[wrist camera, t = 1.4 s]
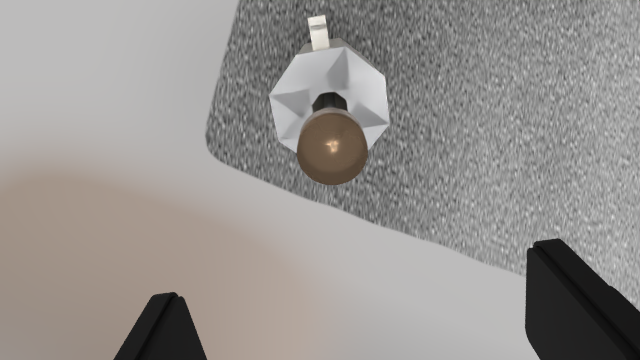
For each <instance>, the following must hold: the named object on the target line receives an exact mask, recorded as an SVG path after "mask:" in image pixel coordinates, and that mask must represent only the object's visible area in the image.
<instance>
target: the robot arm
mask: <svg viewBox="0 0 640 360" xmlns="http://www.w3.org/2000/svg"><path fill="white" fill-rule="evenodd" d="M525 315H526V316H525V317H526V318H525V329H526V334H527V338H528V340H529V342H530V344H531V345H532V347H533V349H534V350H535V352H536V353H537V355H538V357H539V358H540V360H640V312H639V311H638V310H637V309H636V308H635V307H634V306H633V305H632V304H631V303H630V302H629V301H628V300H627V299H626V298H625V297H624V296H623V295H622V294H621V293H620V292H619V291H617V290H616V289H615V288H613V287H612V286H609V285H608V284H607V283H606V282H605V281H604V280H603V279H602V278H601V277H600V276H599V275H598V274H596V273H595V272H594V271H593V270H592V269H591V268H590V267H589V266H588V265H587V264H586V263H585V262H584V261H583V260H582V259H581V258H580V257H579V256H578V255H577V254H576V253H575V252H574V251H573V250H572V249H571V248H570V247H569V246H568V245H567V244H565V243H564V242H563V241H562V240H561V239H558V238H557V239H550V240H543V241H536V242H535V243H534V245H533V248H529V249H528V250H527V273H526V314H525ZM114 360H207V358H206V355H205V353H204V350H203V348H202V345H201V342H200V340H199V337H198V334H197V331H196V329H195V326H194V323H193V321H192V318H191V315H190V313H189V310H188V307H187V305H186V302H185V300H184V298H183V297H181V296H180V297H178V295H177V294H176V293H175V292H170V293H163V294H156V295H153V296H152V297H151V299H150V300H149V302H148V303H147V305H146V307H145V308H144V310H143V312H142V314H141V315H140V317H139V318H138V320H137V322H136V323H135V325H134V327H133V328H132V330H131V332H130V333H129V335H128V337H127V338H126V340H125V341H124V343H123V345H122V346H121V348H120V350H119V351H118V353H117V355H116V356H115V358H114Z"/></svg>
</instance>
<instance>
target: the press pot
mask: <svg viewBox="0 0 640 360" xmlns="http://www.w3.org/2000/svg"><path fill="white" fill-rule="evenodd" d="M308 23H309V29H310V35H311V41H312V42H311V43H305V44H304V45H303V47H302V48H301V50H300V51H299V53H298V54H296V56H295V57H294V59H293V60H292V62H291V63H290V65H289V66H288V68H287V69H286V71H285V72H284V74H283V75H282V77H281V78H280V80H279V81H278V83H277V84H276V86H275V87H274V89H273V90H272V92H271V93H270V95H269V98H270V103H271V107H272V112H273V117H274V122H275V126H276V131H277V136H278V141H279V142H281V143H282V144H284V145H285V146H287V147H288V148H290V149H291V150H293V151H294V152H296V153H297V145H298V140H299V135H300V131H301V128H302V126H303V124H304V122H305V121H306V120H307V118H308V117H309V116H310V115H312V114H313V113H315V112H317V111H319V110H321V109H324V93H328V92H334V95H335V103H336V108H339V109H343V110H345V111H347V112H349V113H351V114H352V115H353V116H354V117H355V118H356V119H357V120H358V121H359V123H360V124H361V126H362V129H363V132H364V135H365V138H366V141H367V146H368V150H369V149H370V148H371V146H372V145H373V144H374V143H375V141H376V140H377V139H378V138H379V136H380V135H381V134H382V133H383V131H384V130H385V129H386V128H387V126H388V125H389V124H390V123H389V113H388V103H387V93H386V83H385V76H384V75H383V74H381V73H380V72H379V71H378V70H377V69H376V68H375V67H374V66H373V65H372V64H371V63H370V61H369V60H368V59H367V58H365V57H364V56H363V55H362V54H360V53H359V52H358V51H356V50H355V49H354V48H352V47H351V46H350V45H349V44H347V43H346V42H345V41H343V40H342V39H341V38H334V39H328V32H327V25H326V18H325V14H324V15H318V16H312V17H309V18H308Z"/></svg>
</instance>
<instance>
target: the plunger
mask: <svg viewBox="0 0 640 360" xmlns="http://www.w3.org/2000/svg"><path fill="white" fill-rule="evenodd" d="M367 156H368V146H367V141H366V138H365V135H364V132H363V129H362V126H361V124H360V123H359V121H358V120H357V119H356V118H355V117H354V116H353V115H352V114H351V113H349V112H347V111H345V110H343V109H339V108H336V103H335V95H334V92H328V93H324V109H321V110H319V111H317V112H315V113H313V114H312V115H310V116H309V117H308V118H307V120H306V121H305V122H304V124H303V126H302V128H301V131H300V135H299V140H298V145H297V158H298V162H299V164H300V167H301V168H302V170H303V171H304V172H305V174H306V175H307V176H308V177H310V178H311V179H313V180H314V181H316V182H319V183H322V184H326V185H338V184H343V183H346V182H348V181H350V180H352V179H353V178H355V177H356V176H357V175H358V174H359V173H360V172H361V170H362V169H363V167H364V166H365V163H366V161H367Z"/></svg>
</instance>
